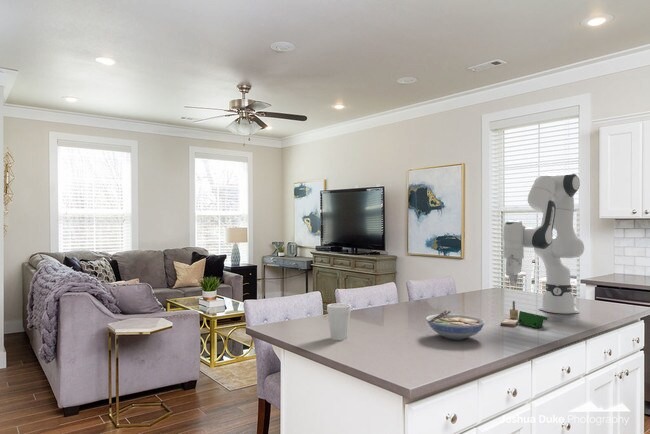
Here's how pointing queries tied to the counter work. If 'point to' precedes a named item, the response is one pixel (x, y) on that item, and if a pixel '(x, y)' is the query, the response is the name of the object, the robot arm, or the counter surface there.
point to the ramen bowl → (455, 325)
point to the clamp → (531, 319)
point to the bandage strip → (509, 322)
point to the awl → (513, 312)
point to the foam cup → (339, 320)
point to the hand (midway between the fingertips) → (513, 283)
